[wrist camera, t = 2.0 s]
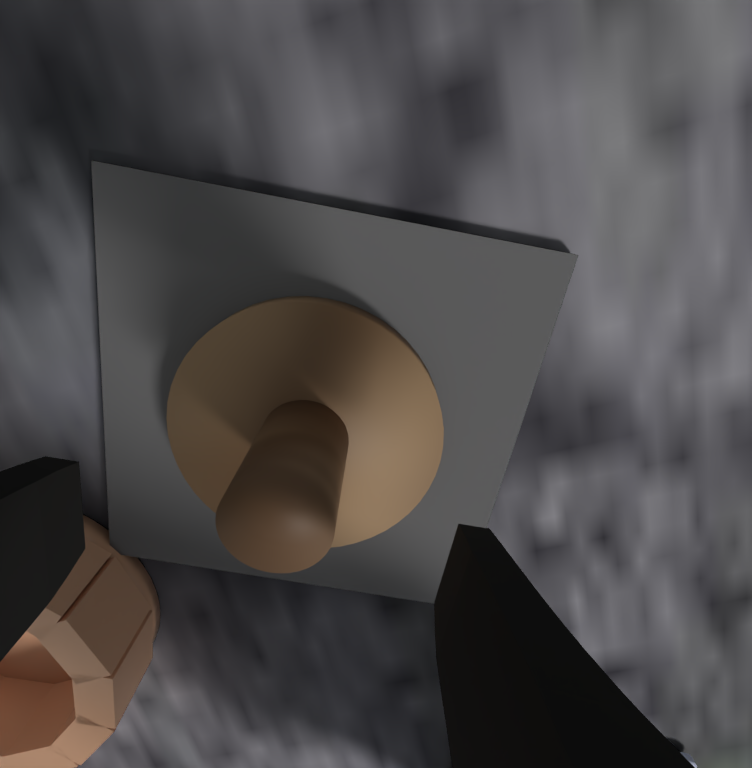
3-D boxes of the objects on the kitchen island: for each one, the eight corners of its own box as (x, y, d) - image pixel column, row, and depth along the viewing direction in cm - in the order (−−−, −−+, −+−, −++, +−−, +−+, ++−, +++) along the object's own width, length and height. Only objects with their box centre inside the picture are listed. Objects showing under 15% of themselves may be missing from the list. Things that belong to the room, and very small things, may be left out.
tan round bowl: (164, 514, 15) (108, 591, 12) (162, 697, 18) (118, 793, 15) (-123, 468, 14) (-255, 536, 11) (-70, 664, 18) (-162, 755, 15)
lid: (468, 322, 12) (511, 385, 8) (412, 546, 15) (423, 679, 11) (178, 273, 12) (65, 312, 7) (179, 512, 14) (96, 635, 10)
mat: (572, 253, 12) (578, 255, 11) (457, 598, 16) (459, 607, 16) (101, 162, 11) (91, 160, 11) (116, 544, 15) (110, 553, 15)
